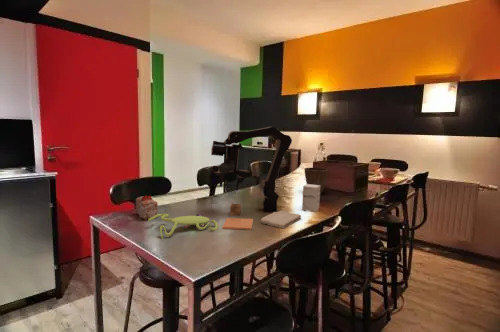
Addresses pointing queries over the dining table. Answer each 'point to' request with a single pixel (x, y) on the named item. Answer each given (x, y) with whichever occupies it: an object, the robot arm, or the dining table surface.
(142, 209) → the food item
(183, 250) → the dining table surface
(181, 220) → the figurine
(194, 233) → the dining table surface
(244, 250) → the dining table surface
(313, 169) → the plant pot
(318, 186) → the supplement box
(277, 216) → the washcloth
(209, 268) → the dining table surface
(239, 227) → the terracotta tile
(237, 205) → the walnut cube
